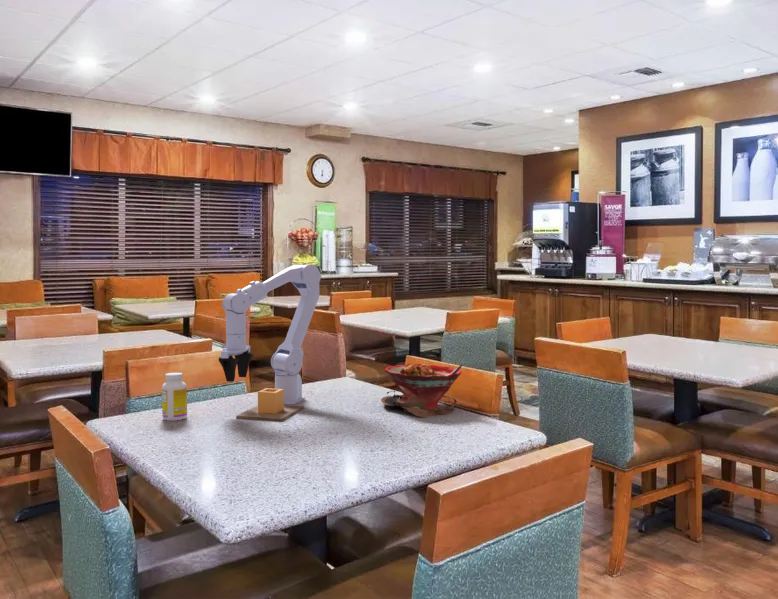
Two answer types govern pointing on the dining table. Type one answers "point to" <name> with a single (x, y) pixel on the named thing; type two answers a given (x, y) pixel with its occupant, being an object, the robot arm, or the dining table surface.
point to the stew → (421, 388)
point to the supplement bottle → (174, 397)
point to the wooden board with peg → (270, 414)
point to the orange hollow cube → (270, 400)
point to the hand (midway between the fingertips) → (236, 379)
